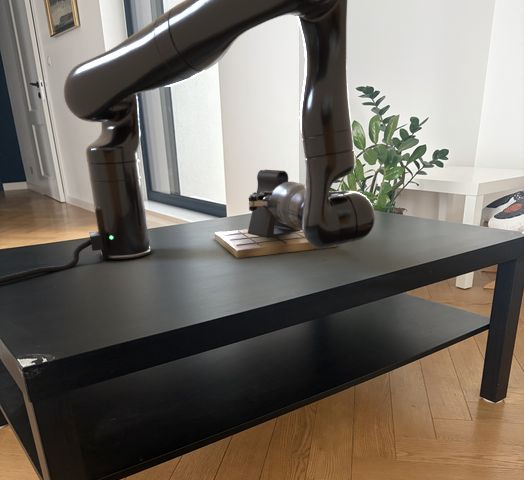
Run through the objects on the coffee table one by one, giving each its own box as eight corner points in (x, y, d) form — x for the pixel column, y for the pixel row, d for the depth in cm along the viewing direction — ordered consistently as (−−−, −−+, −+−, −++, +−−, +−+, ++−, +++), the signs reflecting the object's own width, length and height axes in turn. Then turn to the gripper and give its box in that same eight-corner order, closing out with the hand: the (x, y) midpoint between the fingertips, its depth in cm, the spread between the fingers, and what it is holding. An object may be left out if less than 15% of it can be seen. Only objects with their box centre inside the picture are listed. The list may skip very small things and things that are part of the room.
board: (237, 258, 101) (236, 249, 101) (215, 239, 117) (214, 231, 116) (336, 246, 106) (336, 238, 106) (302, 230, 122) (302, 222, 122)
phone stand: (266, 238, 106) (263, 173, 101) (247, 234, 111) (244, 171, 106) (301, 231, 111) (300, 168, 106) (281, 227, 116) (280, 167, 111)
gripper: (335, 180, 96) (299, 173, 111) (258, 186, 92) (232, 178, 107) (334, 223, 99) (299, 210, 114) (260, 231, 95) (234, 217, 110)
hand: (267, 195), depth 111 cm, fingers closed on phone stand, 3 cm apart
